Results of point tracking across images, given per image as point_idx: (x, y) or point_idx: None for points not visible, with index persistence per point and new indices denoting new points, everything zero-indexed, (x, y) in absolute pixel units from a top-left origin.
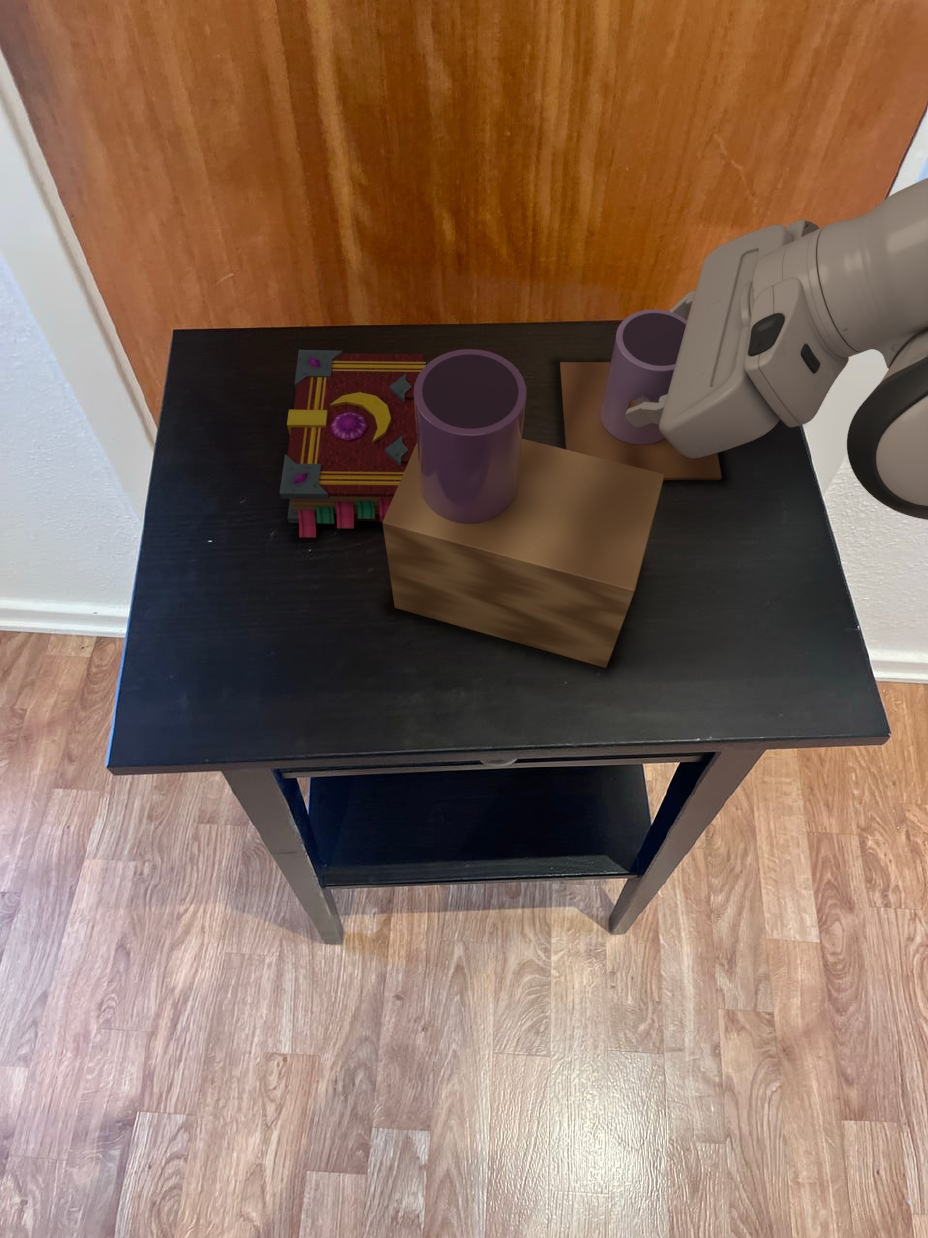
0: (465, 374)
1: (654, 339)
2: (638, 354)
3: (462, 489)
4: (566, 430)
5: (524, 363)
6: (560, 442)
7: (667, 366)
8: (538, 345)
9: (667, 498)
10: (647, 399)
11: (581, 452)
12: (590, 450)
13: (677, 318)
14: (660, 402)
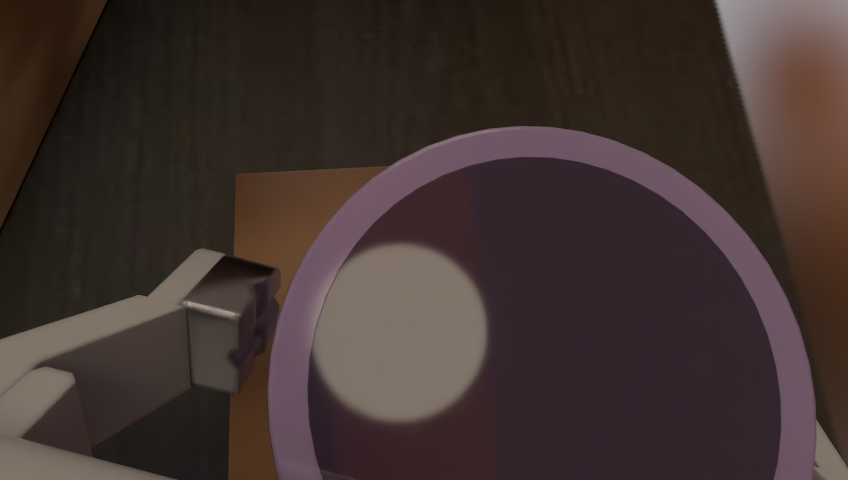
0: None
1: (535, 352)
2: (393, 244)
3: None
4: None
5: (623, 71)
6: (364, 160)
7: (298, 433)
8: (693, 104)
9: (167, 456)
10: (228, 335)
11: (320, 207)
12: None
13: None
14: (10, 375)
